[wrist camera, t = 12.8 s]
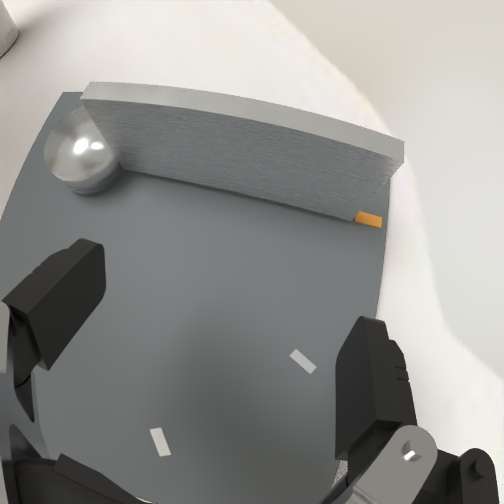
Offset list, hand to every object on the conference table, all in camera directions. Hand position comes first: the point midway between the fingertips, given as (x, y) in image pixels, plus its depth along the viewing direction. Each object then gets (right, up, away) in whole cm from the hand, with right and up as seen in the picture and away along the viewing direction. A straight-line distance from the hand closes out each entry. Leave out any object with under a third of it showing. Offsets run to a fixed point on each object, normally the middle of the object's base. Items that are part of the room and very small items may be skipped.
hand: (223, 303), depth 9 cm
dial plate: (-6, -1, +12) cm, 14 cm away
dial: (-3, +7, +12) cm, 14 cm away
